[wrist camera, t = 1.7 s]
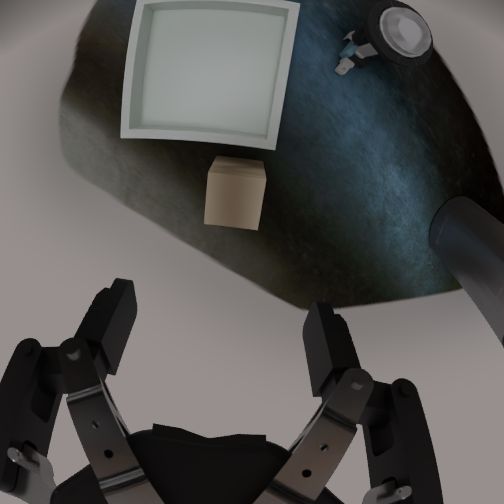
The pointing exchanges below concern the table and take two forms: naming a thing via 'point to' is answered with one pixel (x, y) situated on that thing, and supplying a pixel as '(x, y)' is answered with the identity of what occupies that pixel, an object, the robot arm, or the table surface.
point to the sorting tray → (208, 70)
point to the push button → (388, 38)
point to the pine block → (235, 192)
